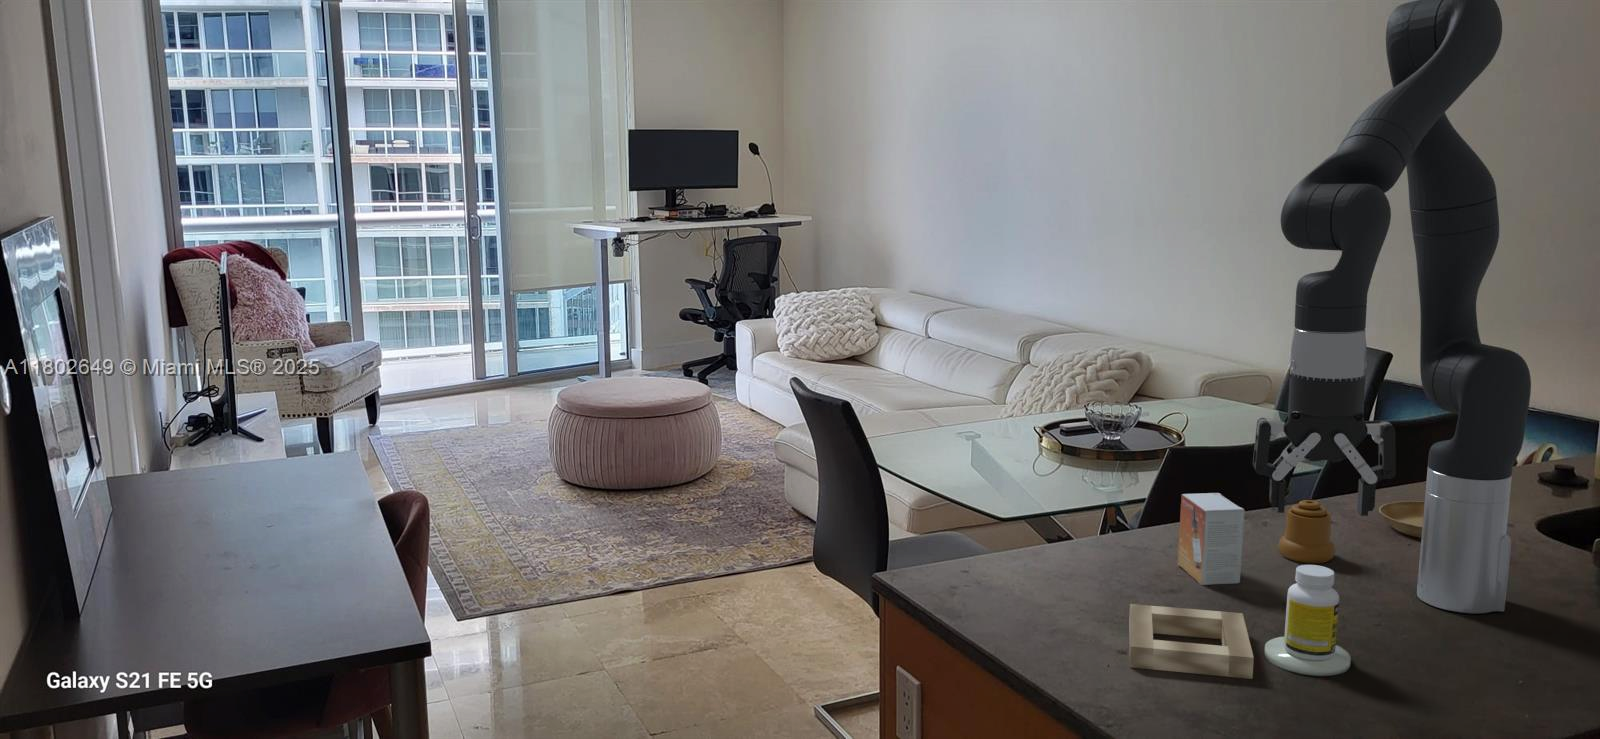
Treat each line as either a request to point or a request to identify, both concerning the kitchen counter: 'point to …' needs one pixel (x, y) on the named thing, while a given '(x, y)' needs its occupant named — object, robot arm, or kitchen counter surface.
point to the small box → (1211, 538)
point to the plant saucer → (1405, 516)
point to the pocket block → (1190, 656)
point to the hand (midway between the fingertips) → (1320, 512)
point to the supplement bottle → (1312, 614)
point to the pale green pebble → (1303, 666)
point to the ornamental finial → (1307, 534)
